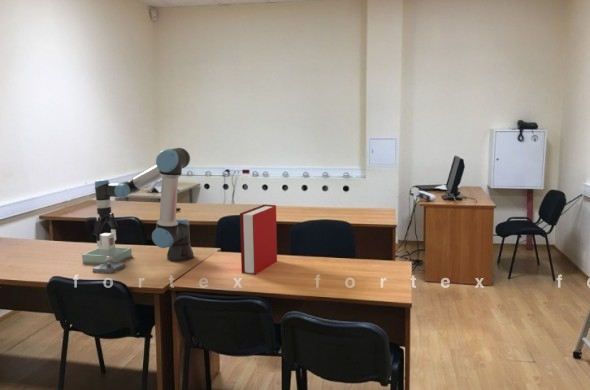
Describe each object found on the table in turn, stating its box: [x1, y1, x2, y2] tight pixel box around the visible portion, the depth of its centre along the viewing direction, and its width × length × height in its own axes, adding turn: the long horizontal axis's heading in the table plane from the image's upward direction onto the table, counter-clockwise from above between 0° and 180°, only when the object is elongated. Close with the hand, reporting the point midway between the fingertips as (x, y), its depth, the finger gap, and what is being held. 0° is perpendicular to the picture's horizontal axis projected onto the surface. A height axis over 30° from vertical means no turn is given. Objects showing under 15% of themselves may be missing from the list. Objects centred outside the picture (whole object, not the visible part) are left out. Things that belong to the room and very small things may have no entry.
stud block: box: [92, 256, 126, 274], centre depth 270 cm, size 12×12×7 cm
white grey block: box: [97, 232, 116, 256], centre depth 287 cm, size 6×7×14 cm
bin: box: [81, 246, 133, 265], centre depth 288 cm, size 20×18×5 cm
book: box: [239, 204, 278, 276], centre depth 269 cm, size 27×8×32 cm, turn 156°
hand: (107, 243), depth 287 cm, fingers open, 13 cm apart
